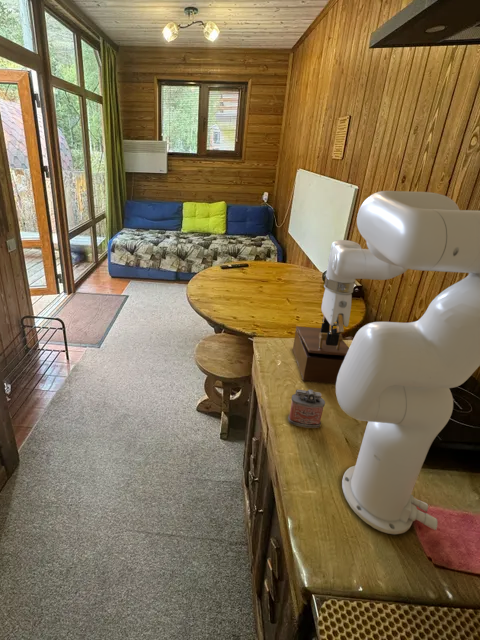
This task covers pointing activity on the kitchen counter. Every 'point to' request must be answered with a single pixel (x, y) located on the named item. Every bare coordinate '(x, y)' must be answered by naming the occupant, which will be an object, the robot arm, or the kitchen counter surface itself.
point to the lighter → (306, 409)
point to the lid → (320, 342)
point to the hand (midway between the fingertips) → (328, 339)
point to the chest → (316, 363)
